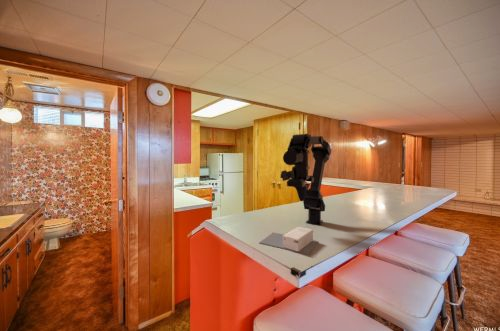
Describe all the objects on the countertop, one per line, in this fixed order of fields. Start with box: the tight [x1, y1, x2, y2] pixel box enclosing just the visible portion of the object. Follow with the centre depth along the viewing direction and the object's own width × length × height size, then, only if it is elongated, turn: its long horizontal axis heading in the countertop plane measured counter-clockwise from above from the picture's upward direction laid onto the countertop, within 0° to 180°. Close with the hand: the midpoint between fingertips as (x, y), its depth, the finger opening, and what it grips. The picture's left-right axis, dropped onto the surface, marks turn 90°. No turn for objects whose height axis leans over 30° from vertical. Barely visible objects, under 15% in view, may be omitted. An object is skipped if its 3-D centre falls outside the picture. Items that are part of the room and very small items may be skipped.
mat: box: [258, 232, 319, 256], centre depth 75 cm, size 12×18×1 cm, turn 59°
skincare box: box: [283, 226, 314, 251], centre depth 73 cm, size 6×4×12 cm
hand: (301, 200), depth 87 cm, fingers closed
